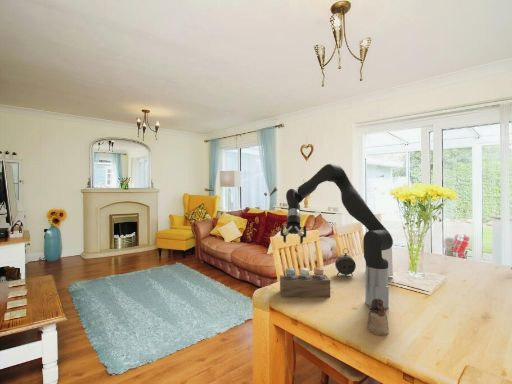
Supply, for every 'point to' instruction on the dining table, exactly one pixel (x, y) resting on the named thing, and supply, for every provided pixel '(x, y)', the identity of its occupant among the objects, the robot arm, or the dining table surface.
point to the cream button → (304, 271)
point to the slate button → (290, 271)
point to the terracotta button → (318, 271)
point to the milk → (388, 256)
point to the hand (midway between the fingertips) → (292, 242)
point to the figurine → (377, 318)
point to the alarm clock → (345, 264)
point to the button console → (305, 286)
